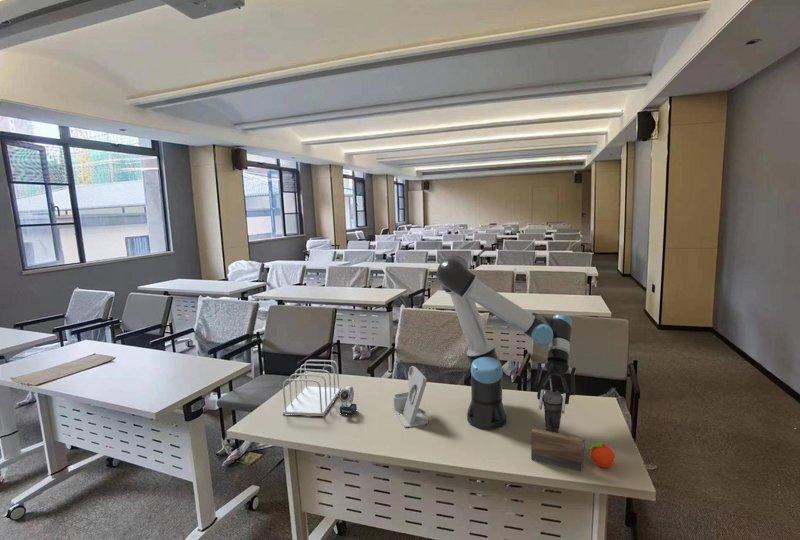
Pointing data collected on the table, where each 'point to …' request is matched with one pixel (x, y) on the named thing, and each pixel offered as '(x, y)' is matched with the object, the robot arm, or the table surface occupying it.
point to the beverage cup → (552, 409)
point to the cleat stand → (557, 449)
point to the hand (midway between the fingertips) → (551, 410)
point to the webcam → (347, 401)
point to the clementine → (602, 455)
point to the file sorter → (312, 393)
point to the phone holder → (411, 400)
